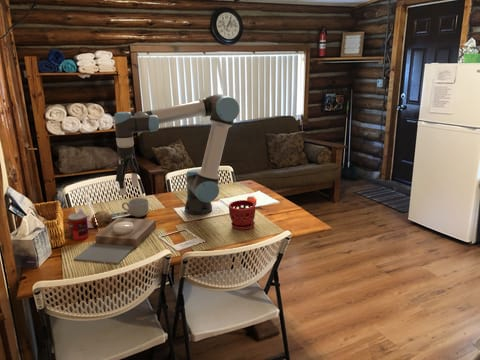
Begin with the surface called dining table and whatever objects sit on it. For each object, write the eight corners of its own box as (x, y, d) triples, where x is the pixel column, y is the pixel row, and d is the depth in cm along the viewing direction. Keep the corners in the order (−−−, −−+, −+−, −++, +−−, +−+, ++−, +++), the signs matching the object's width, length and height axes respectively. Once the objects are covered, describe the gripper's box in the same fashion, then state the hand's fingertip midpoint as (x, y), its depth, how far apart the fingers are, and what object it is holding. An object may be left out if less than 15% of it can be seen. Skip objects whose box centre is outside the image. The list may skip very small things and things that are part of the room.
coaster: (136, 227, 186) (136, 222, 185) (128, 235, 177) (127, 229, 176) (119, 225, 187) (118, 220, 186) (110, 233, 179) (109, 228, 178)
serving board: (156, 227, 195) (155, 220, 194) (137, 247, 174) (136, 239, 173) (118, 224, 198) (118, 217, 197) (95, 243, 178) (94, 235, 176)
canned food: (73, 234, 188) (71, 213, 184) (91, 233, 188) (88, 212, 185) (68, 241, 180) (65, 219, 177) (86, 240, 181) (83, 218, 178)
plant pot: (242, 219, 205) (242, 197, 201) (260, 226, 196) (260, 204, 192) (223, 226, 196) (223, 204, 192) (242, 234, 187) (242, 210, 183)
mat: (134, 247, 174) (134, 246, 174) (118, 264, 160) (118, 262, 159) (93, 244, 177) (93, 243, 177) (74, 260, 163) (73, 258, 163)
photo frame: (177, 250, 170) (158, 236, 184) (177, 252, 170) (158, 238, 184) (205, 240, 179) (185, 228, 192) (205, 243, 179) (185, 230, 193)
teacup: (152, 211, 215) (151, 198, 213) (145, 219, 205) (144, 205, 203) (127, 211, 217) (126, 197, 214) (119, 218, 206) (118, 204, 204)
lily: (68, 238, 186) (75, 222, 183) (61, 222, 193) (67, 206, 190) (92, 237, 195) (99, 223, 192) (84, 222, 202) (91, 208, 199)
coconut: (98, 234, 196) (101, 222, 193) (85, 222, 200) (88, 210, 196) (114, 227, 204) (117, 215, 201) (101, 216, 208) (104, 204, 204)
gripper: (129, 140, 192) (133, 182, 199) (104, 151, 170) (109, 198, 176) (144, 141, 191) (147, 183, 197) (120, 152, 168) (125, 199, 174)
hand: (129, 190), depth 187 cm, fingers open, 12 cm apart
